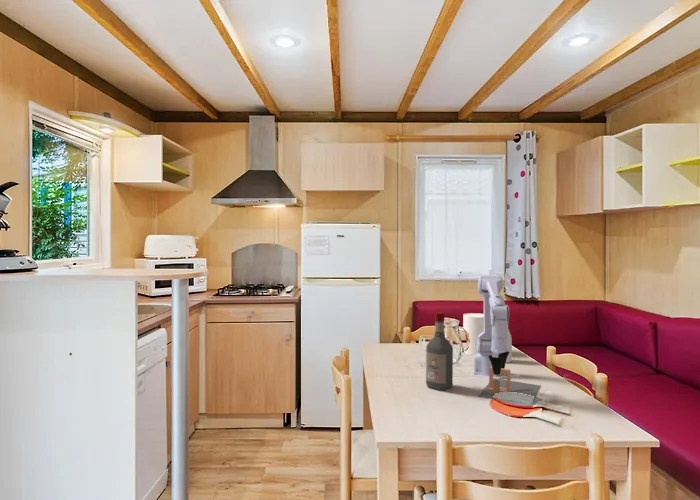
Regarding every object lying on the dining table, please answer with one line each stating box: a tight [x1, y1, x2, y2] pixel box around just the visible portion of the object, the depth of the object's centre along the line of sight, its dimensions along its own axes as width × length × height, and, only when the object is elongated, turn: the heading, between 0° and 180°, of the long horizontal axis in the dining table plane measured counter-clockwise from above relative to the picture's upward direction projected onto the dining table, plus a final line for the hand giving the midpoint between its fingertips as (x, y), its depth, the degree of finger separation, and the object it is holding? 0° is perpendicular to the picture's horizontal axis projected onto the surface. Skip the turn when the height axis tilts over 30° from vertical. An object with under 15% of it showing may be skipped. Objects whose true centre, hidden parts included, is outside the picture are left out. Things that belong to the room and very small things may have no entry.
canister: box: [462, 312, 485, 357], centre depth 233 cm, size 14×14×20 cm
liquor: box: [425, 311, 454, 392], centre depth 177 cm, size 9×9×30 cm
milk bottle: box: [506, 321, 513, 364], centre depth 216 cm, size 8×8×20 cm
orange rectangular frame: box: [488, 367, 511, 392], centre depth 171 cm, size 4×8×9 cm, turn 59°
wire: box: [493, 374, 521, 396], centre depth 170 cm, size 7×16×6 cm, turn 149°
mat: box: [477, 377, 542, 400], centre depth 172 cm, size 19×25×1 cm
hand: (499, 371), depth 170 cm, fingers open, 7 cm apart
